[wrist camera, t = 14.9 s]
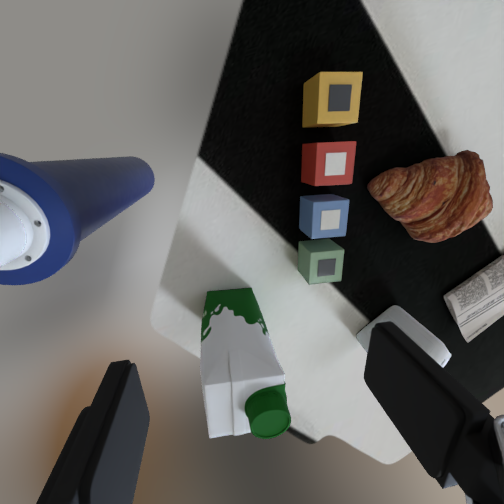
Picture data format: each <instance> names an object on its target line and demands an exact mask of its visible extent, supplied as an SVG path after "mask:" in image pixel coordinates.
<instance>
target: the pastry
mask: <svg viewBox="0 0 504 504" xmlns="http://www.w3.org/2000/svg"><path fill="white" fill-rule="evenodd" d="M367 189H368V190H369V192H370V194H371V195H372V197H373V198H375V199H376V200H377V201H379V203H380V204H381V206H382V208H383V209H384V210H385V211H386V212H387V213H388V214H389V215H390V216H391V217H392V218H393V219H395V220H397V221H400V222H401V223H402V225H403V226H404V227H405V228H406V230H407V232H408V233H409V235H410V236H411V237H412V238H414V239H416V240H420V241H425V242H432V243H435V242H440V241H443V240H446V239H447V238H450V237H455V236H457V235H458V234H460V233H461V232H462V231H464V230H467V229H469V228H471V227H472V226H474V225H475V224H476V223H478V222H479V221H480V220H482V219H484V218H485V217H486V216H487V215H488V214H489V213H490V212H491V211H492V208H493V200H492V197H491V195H490V193H489V190H490V186H489V184H488V182H487V180H486V174H485V168H484V164H483V160H481V159H480V158H479V155H478V154H477V153H475V152H471V151H469V150H466V151H461V152H459V153H457V155H456V156H446V157H442V158H433V159H427V160H424V161H423V162H421V163H419V164H414V165H412V166H409V167H407V168H399V167H396V168H393V169H389V170H388V171H385V172H383V173H381V174H380V175H378V176H377V177H375V178H373V179H372V180H371V181H370V182H369V183H368V185H367Z"/></svg>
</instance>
